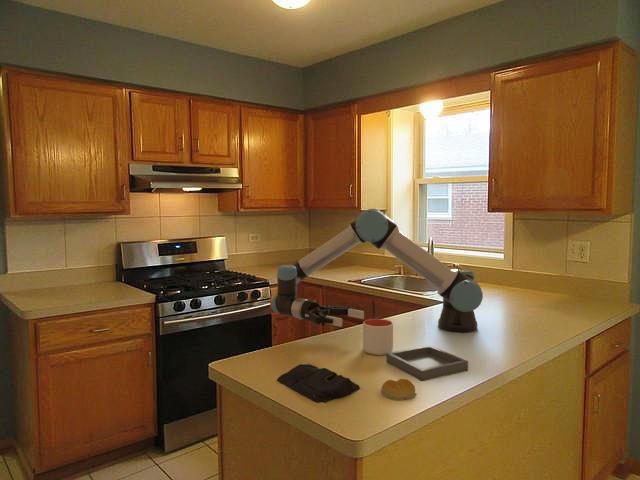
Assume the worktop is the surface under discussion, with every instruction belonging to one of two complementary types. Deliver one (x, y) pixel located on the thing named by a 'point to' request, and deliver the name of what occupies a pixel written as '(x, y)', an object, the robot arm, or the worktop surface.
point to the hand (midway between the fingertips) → (352, 318)
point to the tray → (426, 362)
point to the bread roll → (398, 389)
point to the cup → (378, 336)
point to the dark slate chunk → (317, 383)
